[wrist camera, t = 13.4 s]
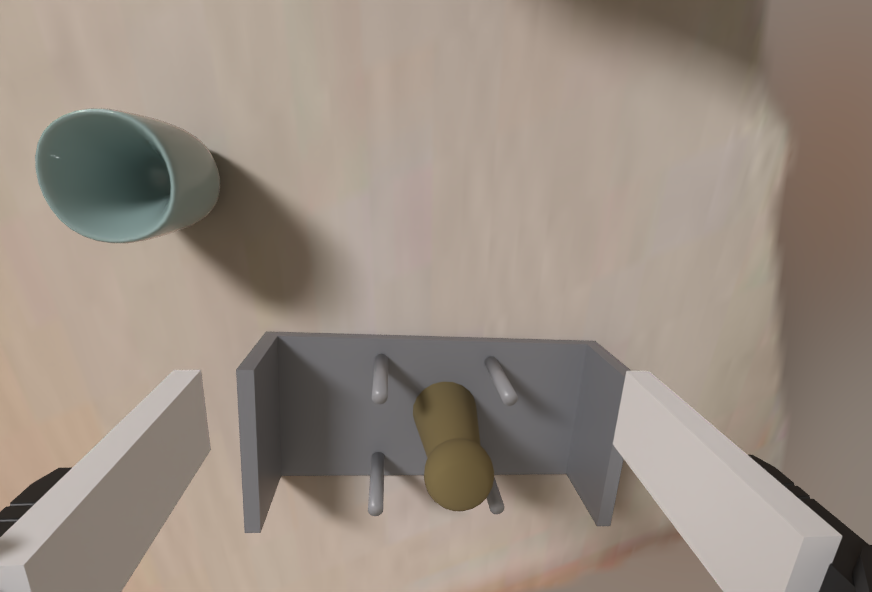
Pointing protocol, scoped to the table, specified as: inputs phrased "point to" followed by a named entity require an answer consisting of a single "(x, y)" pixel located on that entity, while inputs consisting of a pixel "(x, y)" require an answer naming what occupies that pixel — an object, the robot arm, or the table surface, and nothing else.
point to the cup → (124, 175)
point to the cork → (452, 447)
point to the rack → (393, 411)
